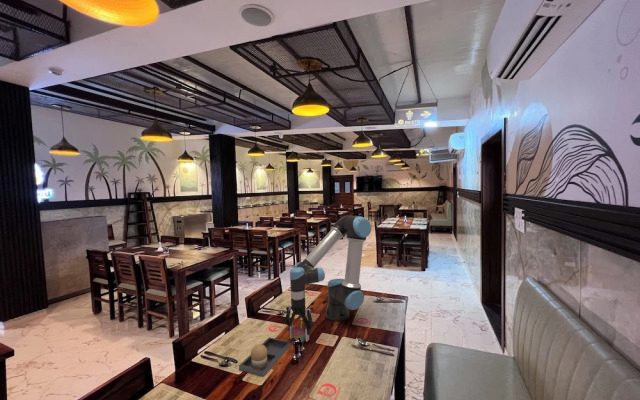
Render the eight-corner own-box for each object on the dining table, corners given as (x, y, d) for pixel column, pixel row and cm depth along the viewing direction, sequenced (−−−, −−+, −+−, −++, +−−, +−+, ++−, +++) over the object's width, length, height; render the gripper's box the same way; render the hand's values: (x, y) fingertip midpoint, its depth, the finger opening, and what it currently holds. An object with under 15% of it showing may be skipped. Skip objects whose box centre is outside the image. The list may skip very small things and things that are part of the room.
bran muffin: (271, 361, 130) (270, 342, 130) (261, 371, 123) (261, 351, 123) (257, 357, 133) (256, 339, 133) (247, 367, 126) (247, 348, 126)
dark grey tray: (290, 347, 143) (290, 341, 143) (263, 378, 120) (263, 372, 120) (269, 342, 148) (269, 337, 148) (239, 372, 125) (238, 365, 125)
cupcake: (310, 337, 151) (309, 315, 151) (304, 346, 143) (303, 323, 143) (295, 335, 154) (294, 313, 154) (288, 343, 146) (288, 321, 145)
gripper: (319, 297, 147) (320, 338, 148) (283, 292, 155) (285, 331, 156) (313, 302, 140) (315, 346, 141) (276, 297, 148) (278, 338, 149)
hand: (299, 338), depth 149 cm, fingers closed on cupcake, 8 cm apart
